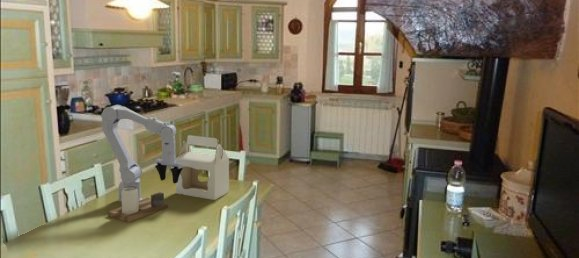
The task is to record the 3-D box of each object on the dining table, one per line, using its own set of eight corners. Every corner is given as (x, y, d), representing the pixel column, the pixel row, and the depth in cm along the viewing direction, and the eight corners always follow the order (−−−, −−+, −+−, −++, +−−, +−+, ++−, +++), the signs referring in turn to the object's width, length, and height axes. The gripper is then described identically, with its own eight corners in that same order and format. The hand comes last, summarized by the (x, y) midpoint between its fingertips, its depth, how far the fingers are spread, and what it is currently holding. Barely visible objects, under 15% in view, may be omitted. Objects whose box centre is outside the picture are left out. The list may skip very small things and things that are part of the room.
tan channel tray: (108, 216, 184) (107, 199, 183) (147, 201, 202) (147, 187, 201) (128, 222, 178) (128, 205, 177) (167, 207, 196) (167, 192, 195)
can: (132, 219, 182) (131, 191, 180) (118, 217, 184) (117, 189, 182) (141, 214, 188) (141, 186, 186) (128, 212, 190) (127, 184, 188)
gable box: (229, 192, 220) (229, 136, 215) (215, 200, 208) (215, 141, 203) (190, 186, 228) (190, 132, 223) (175, 193, 216) (174, 136, 211)
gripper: (150, 151, 199) (150, 180, 201) (174, 155, 192) (174, 186, 194) (161, 148, 205) (162, 177, 207) (185, 152, 198) (186, 182, 200)
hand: (169, 181), depth 201 cm, fingers open, 7 cm apart
